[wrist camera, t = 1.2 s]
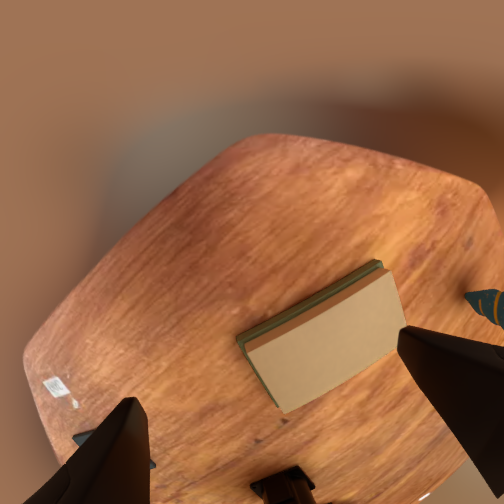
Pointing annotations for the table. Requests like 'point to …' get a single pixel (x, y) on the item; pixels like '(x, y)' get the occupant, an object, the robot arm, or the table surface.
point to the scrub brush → (326, 337)
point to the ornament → (488, 304)
